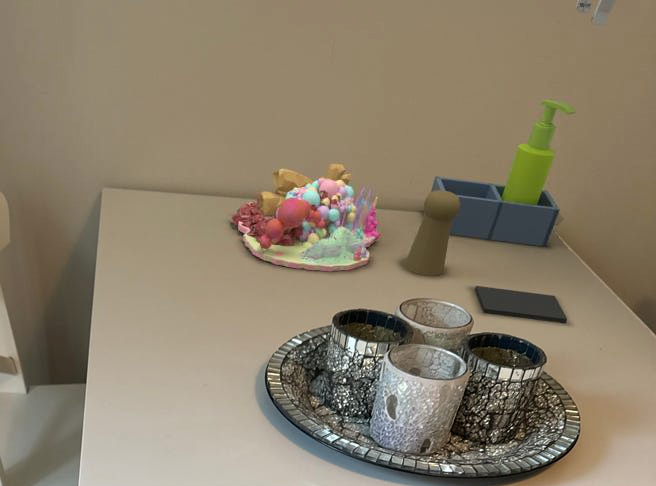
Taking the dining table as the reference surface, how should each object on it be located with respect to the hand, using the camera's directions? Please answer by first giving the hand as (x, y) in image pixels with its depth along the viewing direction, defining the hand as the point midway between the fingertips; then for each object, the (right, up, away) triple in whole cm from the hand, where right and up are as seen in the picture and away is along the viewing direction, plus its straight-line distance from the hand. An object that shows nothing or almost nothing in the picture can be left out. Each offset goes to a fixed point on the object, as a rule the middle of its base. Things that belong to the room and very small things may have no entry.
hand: (589, 17), depth 136 cm
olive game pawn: (-23, -35, +6) cm, 42 cm away
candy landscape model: (-41, -29, +10) cm, 51 cm away
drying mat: (-11, -43, -1) cm, 45 cm away
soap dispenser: (-4, -23, +21) cm, 31 cm away
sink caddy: (-9, -22, +20) cm, 31 cm away
